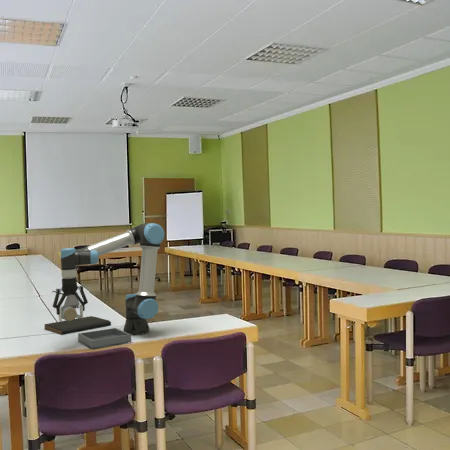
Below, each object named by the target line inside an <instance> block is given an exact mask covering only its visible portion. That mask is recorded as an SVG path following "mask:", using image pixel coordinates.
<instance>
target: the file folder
mask: <svg viewBox="0 0 450 450" xmlns="http://www.w3.org/2000/svg"><path fill="white" fill-rule="evenodd" d="M43 326H44V327H43V328H44V330H45V331H49V332H50V333H51V332H52V333H55V334H58V335H61V336H64V335H69V334H70V335H71V334H74V333H81V332H86V331H88V330H89V331H90V330H95V329H100V328H106V327H110V326H112V321H111V320H109V319H106V318H105V319H104V318H101V317H96V316H92V315H89V316H85V317H84V316H83V318H81V319H79V318H75V319H74V320H72V321H66V320H62V321H56V322H50V323H44V325H43Z"/></svg>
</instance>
